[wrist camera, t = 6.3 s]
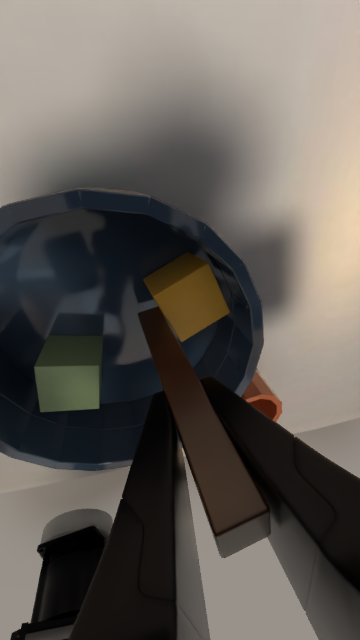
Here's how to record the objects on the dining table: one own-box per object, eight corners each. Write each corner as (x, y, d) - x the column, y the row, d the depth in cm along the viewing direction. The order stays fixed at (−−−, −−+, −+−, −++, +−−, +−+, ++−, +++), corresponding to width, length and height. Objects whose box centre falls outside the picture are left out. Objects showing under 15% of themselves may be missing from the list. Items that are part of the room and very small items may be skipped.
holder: (214, 407, 21) (231, 443, 18) (208, 371, 19) (225, 406, 16) (258, 392, 22) (282, 426, 19) (256, 356, 20) (282, 387, 17)
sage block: (52, 375, 16) (39, 412, 13) (48, 334, 15) (33, 366, 12) (102, 374, 17) (99, 409, 14) (102, 335, 15) (99, 365, 13)
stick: (142, 331, 14) (221, 561, 5) (136, 312, 13) (214, 537, 5) (163, 324, 14) (272, 535, 5) (158, 305, 13) (271, 509, 5)
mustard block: (167, 319, 16) (181, 343, 13) (142, 278, 14) (152, 297, 11) (208, 293, 16) (231, 312, 13) (188, 250, 14) (208, 262, 12)
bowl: (52, 427, 18) (33, 501, 14) (-89, 228, 11) (-214, 255, 7) (234, 369, 20) (267, 421, 15) (208, 159, 13) (256, 146, 8)
